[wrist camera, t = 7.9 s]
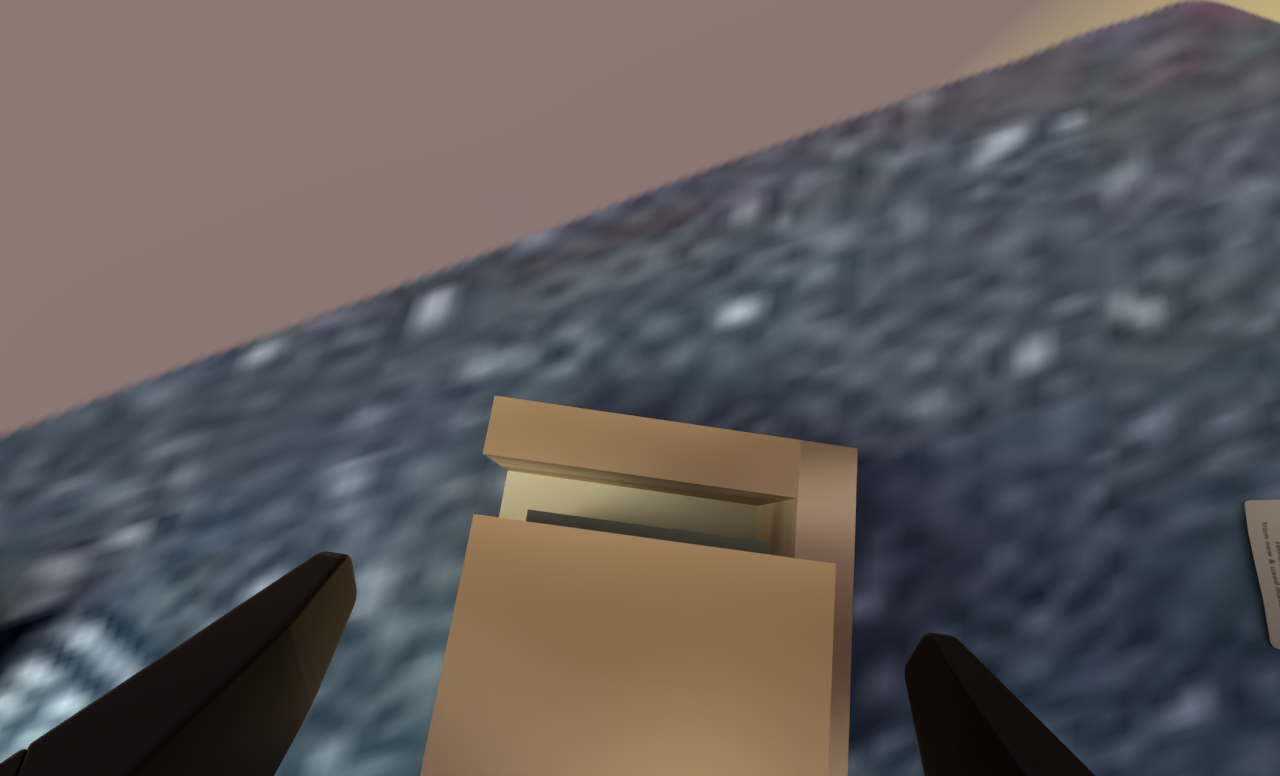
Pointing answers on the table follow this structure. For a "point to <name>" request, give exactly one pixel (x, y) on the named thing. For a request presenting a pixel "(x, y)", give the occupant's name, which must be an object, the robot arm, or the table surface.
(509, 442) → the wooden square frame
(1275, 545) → the ink box
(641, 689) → the maple block
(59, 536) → the table surface
